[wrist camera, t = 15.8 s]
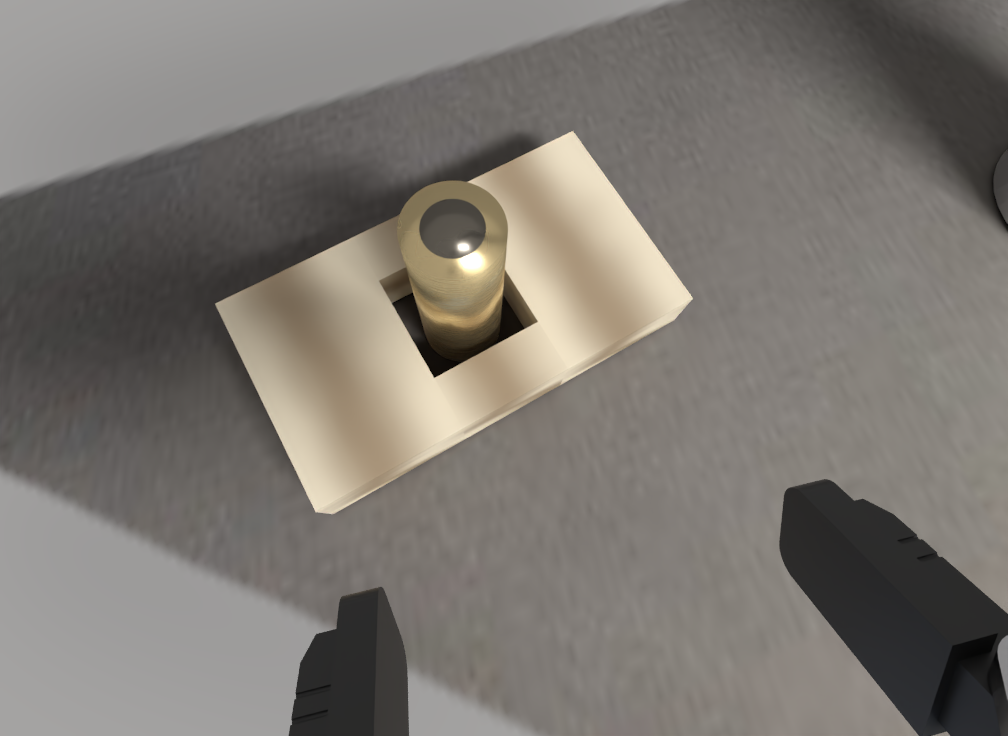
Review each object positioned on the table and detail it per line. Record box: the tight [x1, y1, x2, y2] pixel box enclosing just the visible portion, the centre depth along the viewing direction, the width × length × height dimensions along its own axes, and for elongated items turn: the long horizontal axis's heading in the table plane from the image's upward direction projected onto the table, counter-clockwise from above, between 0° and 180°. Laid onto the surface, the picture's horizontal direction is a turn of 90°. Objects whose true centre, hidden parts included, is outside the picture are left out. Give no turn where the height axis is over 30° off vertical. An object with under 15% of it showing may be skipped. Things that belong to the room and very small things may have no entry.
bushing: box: [397, 180, 508, 362], centre depth 25 cm, size 4×4×10 cm
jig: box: [215, 131, 693, 514], centre depth 29 cm, size 20×11×3 cm, turn 120°
